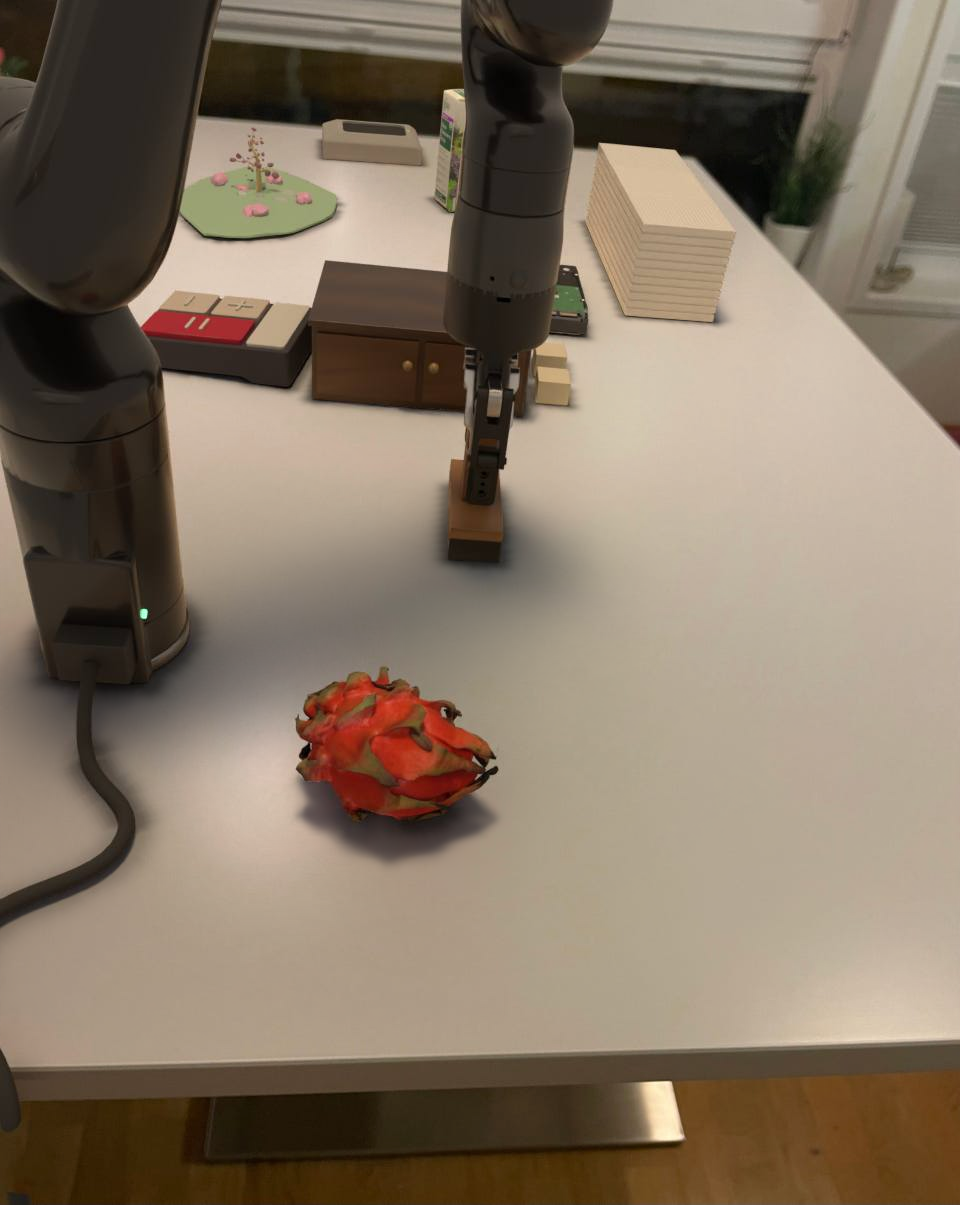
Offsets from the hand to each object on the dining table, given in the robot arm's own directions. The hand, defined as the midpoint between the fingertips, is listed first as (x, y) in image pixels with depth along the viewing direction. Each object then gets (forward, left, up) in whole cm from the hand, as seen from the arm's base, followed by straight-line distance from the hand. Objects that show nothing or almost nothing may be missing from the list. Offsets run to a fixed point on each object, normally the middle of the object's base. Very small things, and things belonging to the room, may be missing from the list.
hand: (478, 472), depth 79 cm
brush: (0, 0, -5) cm, 5 cm away
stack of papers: (+62, -23, -5) cm, 66 cm away
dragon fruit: (-28, +5, -5) cm, 29 cm away
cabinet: (+26, +5, -5) cm, 27 cm away
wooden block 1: (+30, -8, -3) cm, 31 cm away
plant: (+70, +28, -5) cm, 76 cm away
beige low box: (+101, +15, -5) cm, 102 cm away
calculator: (+27, +24, -5) cm, 37 cm away
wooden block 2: (+24, -8, -3) cm, 25 cm away
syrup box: (+80, +1, -5) cm, 80 cm away
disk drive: (+46, -8, -5) cm, 47 cm away
